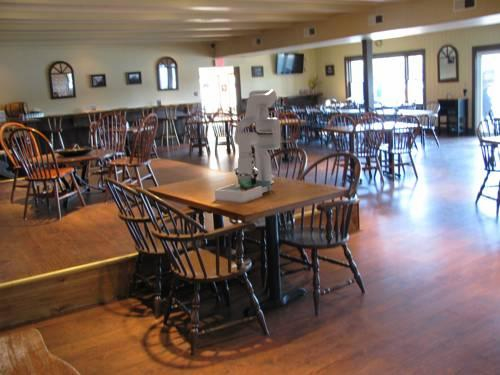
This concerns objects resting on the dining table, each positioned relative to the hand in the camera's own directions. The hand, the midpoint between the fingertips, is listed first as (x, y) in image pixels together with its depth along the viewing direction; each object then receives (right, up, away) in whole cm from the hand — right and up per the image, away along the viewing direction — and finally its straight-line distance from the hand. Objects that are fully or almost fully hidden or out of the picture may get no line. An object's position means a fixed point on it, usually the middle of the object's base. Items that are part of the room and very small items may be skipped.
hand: (247, 184), depth 302 cm
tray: (+1, -5, +1) cm, 5 cm away
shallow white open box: (-4, -8, -5) cm, 10 cm away
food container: (+2, -4, +1) cm, 5 cm away
